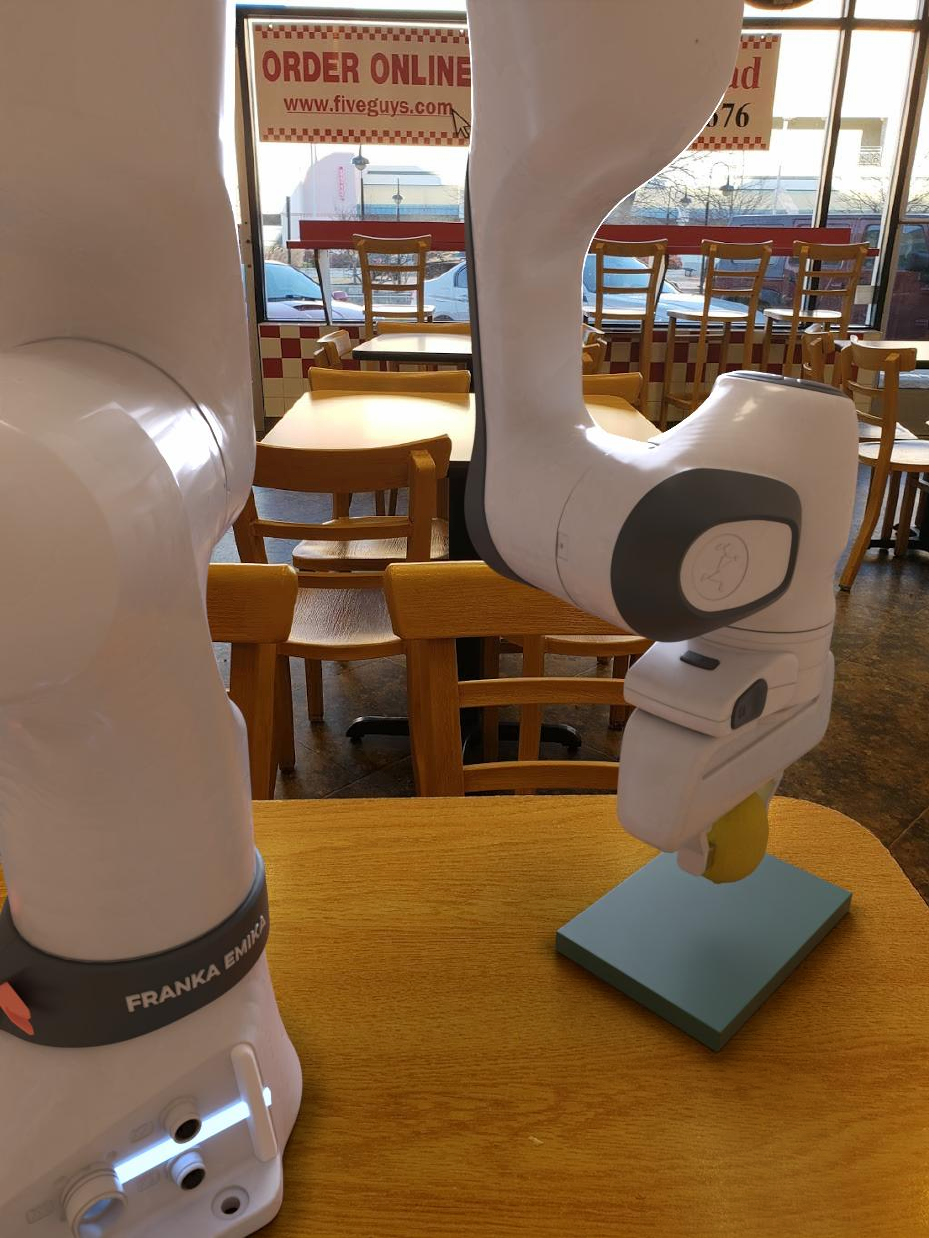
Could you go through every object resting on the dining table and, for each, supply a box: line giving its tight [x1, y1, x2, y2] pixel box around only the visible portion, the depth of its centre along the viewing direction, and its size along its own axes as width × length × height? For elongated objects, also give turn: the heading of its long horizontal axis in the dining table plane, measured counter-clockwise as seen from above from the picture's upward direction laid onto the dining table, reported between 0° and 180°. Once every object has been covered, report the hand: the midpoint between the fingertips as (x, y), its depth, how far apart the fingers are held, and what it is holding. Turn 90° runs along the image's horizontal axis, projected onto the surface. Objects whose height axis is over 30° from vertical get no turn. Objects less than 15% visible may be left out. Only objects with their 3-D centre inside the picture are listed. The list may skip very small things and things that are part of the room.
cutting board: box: [554, 851, 853, 1053], centre depth 63 cm, size 18×12×2 cm, turn 136°
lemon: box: [701, 791, 770, 884], centre depth 61 cm, size 6×6×8 cm
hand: (722, 845), depth 61 cm, fingers closed on lemon, 5 cm apart
